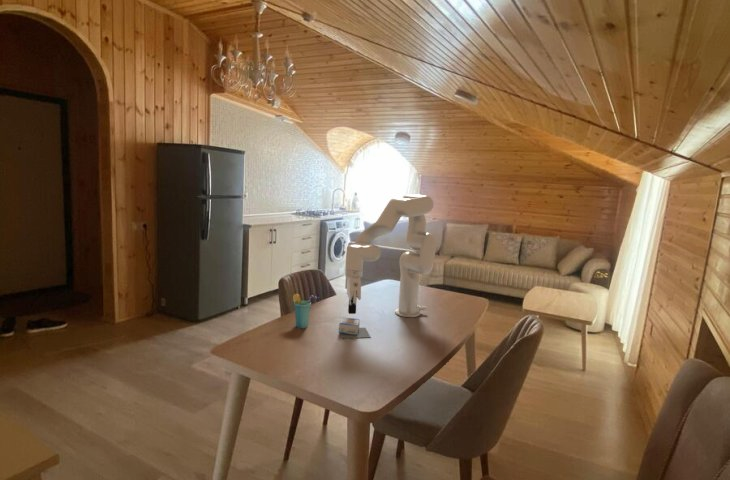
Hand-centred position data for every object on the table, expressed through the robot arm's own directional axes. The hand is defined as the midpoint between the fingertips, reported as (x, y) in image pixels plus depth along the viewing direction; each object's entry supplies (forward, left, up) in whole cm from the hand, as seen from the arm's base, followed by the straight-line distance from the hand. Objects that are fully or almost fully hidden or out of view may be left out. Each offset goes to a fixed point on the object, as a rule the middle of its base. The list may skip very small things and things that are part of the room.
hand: (351, 313), depth 175 cm
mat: (0, +7, -7) cm, 10 cm away
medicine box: (0, +1, -4) cm, 4 cm away
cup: (+21, -3, -7) cm, 22 cm away
